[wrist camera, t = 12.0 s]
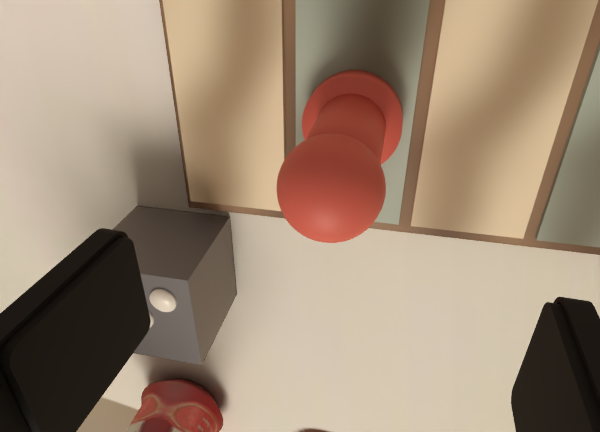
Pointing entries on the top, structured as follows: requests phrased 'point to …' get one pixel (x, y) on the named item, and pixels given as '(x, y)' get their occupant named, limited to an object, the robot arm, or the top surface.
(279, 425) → the top surface
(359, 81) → the pawn
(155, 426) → the liquor
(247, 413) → the top surface
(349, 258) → the top surface
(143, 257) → the die
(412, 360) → the top surface
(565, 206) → the board
